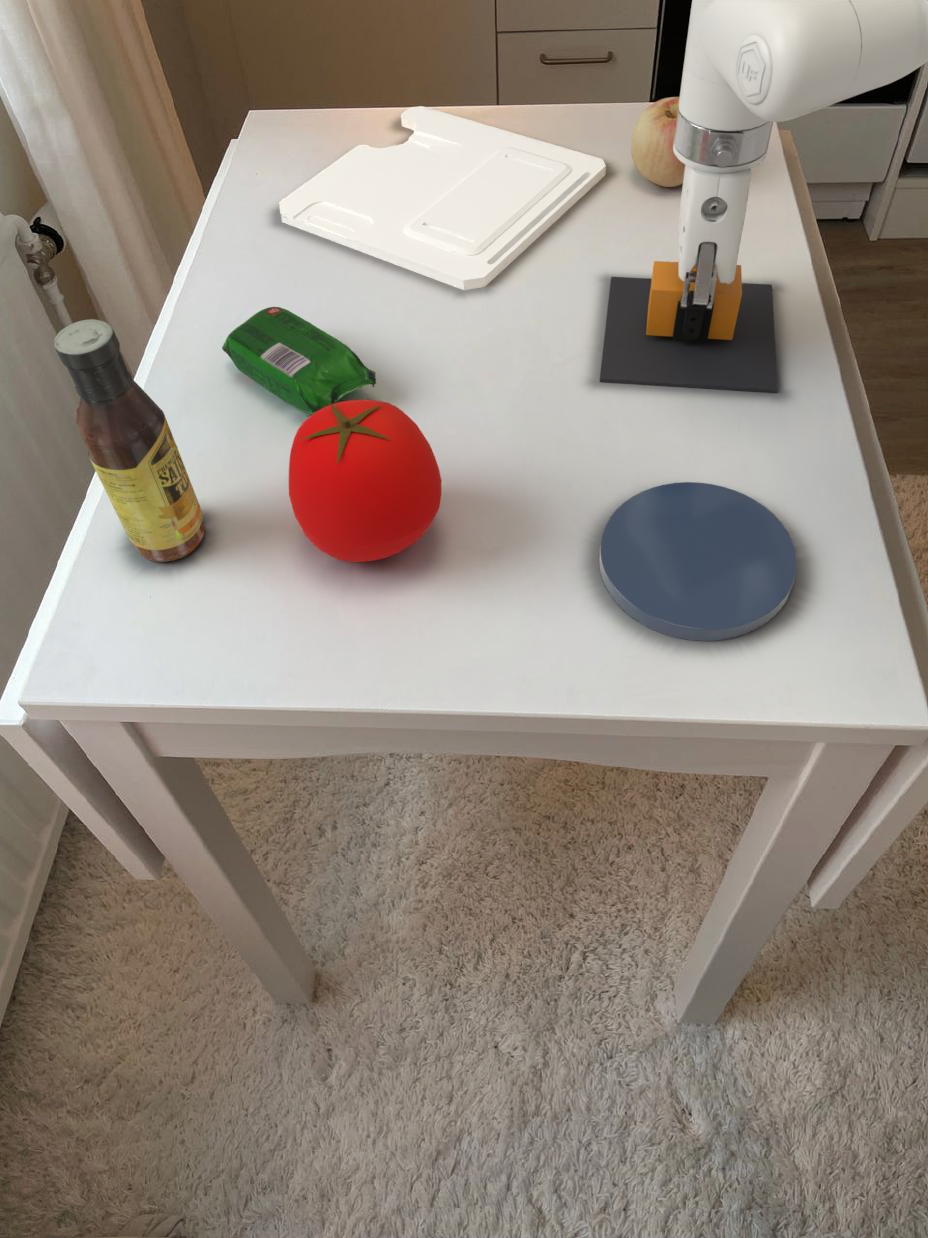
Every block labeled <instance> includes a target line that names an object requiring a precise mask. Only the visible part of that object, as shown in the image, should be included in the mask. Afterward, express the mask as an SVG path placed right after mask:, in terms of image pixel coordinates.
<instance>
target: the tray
mask: <svg viewBox="0 0 928 1238" xmlns="http://www.w3.org/2000/svg"><path fill="white" fill-rule="evenodd" d="M400 121H401V127H403V128H405V129H408V130H412V131H413V133H412V134H411V135H410V136H408V140H406V141H404V142H403V143H399V144H391V145H390V146H386V147H374V146H372V145H368V144H358V145H356V146H354V147H353V148H352V149H350V150H349V151H348V152H346V153H345V154H343V155H342V156H341V157H339V158H338V159H336V160H335V161H333V162H332V163H331V164H329V165H328V166H327V167H326V168H324V169H323V170H321V171H319V173H317V174H316V175H314V176H313V177H312V178H310V179H309V180H307V181H306V182H305V183H303V184H301V185H300V186H299V187H298V188H296V189H295V190H294V191H292V192H291V193H289V194H288V195H286V196H285V197H284V198H282V199H281V200H280V201H279V202H278V208H279V214H280V217H281V218H280V219H281V223H284V224H286V225H288V226H291V227H294V228H297V229H298V230H302V231H305V232H307V233H310V234H312V235H315V236H318V237H320V238H324V239H326V240H328V241H331V242H333V243H336V244H339V245H342V246H345V247H347V248H349V249H352V250H356V251H357V252H361V253H363V254H366V255H369V256H371V257H373V258H376V259H379V260H382V261H385V262H387V263H390V264H393V265H395V266H398V267H401V268H403V269H405V270H409V271H412V272H414V273H417V274H419V275H421V276H425V277H427V278H430V279H433V280H435V281H437V282H441V283H442V284H443V283H444V284H446V285H449V286H451V287H453V288H456V289H460V290H462V291H468V290H474V289H483V288H486V287H487V286H488V285H489V284H490V283H491V282H493V280H494V279H495V278H496V277H497V276H498V275H499V274H501V273H502V272H503V271H504V270H505V269H506V268H507V267H508V266H509V265H511V263H513V261H514V260H516V259H517V258H518V257H519V256H520V255H521V254H522V253H523V252H524V251H526V250H527V249H528V248H529V247H530V246H531V245H532V244H533V243H534V242H535V241H536V240H538V238H540V237H541V235H543V234H544V233H545V232H546V231H547V230H548V229H549V228H550V227H552V226H553V225H554V224H555V223H556V222H557V221H558V220H559V219H560V218H561V217H562V216H564V214H566V212H567V211H569V210H570V209H571V208H572V207H573V206H574V205H575V204H576V203H577V202H578V201H580V200H581V198H583V197H584V196H585V195H586V194H587V193H588V192H589V191H590V190H592V188H594V187H595V186H596V185H597V184H598V183H599V182H600V181H601V180H602V179H603V178H604V177H606V172H607V171H606V170H607V164H606V163H605V161H604V160H603V158H601V157H599V156H595V155H591V154H588V153H584V152H581V151H577V150H575V149H571V148H567V147H564V146H560V145H557V144H554V143H550V142H547V141H542V140H540V139H536V138H532V137H531V136H527V135H522V134H519V133H517V132H512V131H510V130H506V129H502V128H498V127H495V126H492V125H488V124H486V123H483V122H479V121H476V120H471V119H470V118H469V119H468V118H464V117H462V116H458V115H454V114H451V113H448V112H445V111H441V110H437V109H434V108H431V107H428V106H424V105H419V106H411V107H408V108H407V109H406V110H404V111H402V113H400Z"/></svg>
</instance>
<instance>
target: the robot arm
mask: <svg viewBox="0 0 928 1238" xmlns="http://www.w3.org/2000/svg"><path fill="white" fill-rule="evenodd" d="M690 7H691V8H690V15H689V22H688V28H687V37H686V43H685V52H684V60H683V68H682V76H681V83H680V91H679V97H680V98H679V106H678V114H677V121H676V129H675V137H674V143H673V151H674V154H675V156H676V157H677V158H678V159H679V160H680V161H681V162H682V163H684V164H685V171H684V179H683V184H682V188H681V194H680V195H681V196H680V206H679V217H678V218H679V219H678V242H677V243H678V244H677V245H678V246H677V257H678V259H677V262H678V275H679V278H680V279H681V280H682V281H683V282H684V284H683V291H682V298H681V301H678V305H677V311H676V317H675V324H674V330H673V340H674V341H682V342H699V343H704V342H706V341H707V339H708V334H709V329H710V324H711V319H712V313H713V308H714V303H713V298H714V292H715V286H716V281H717V274H718V277H719V280H720V283H726V284H730V283H732V282H733V280H734V278H735V272H736V265H738V259H739V253H740V247H741V241H742V236H743V231H744V224H745V219H746V212H747V207H748V201H749V194H750V187H751V179H752V170H753V169H754V168H755V167H757V166H758V165H760V164H761V163H762V162H763V161H764V160H765V159H766V157H767V154H768V150H769V144H770V140H771V135H772V130H773V125H774V123H781V122H787V121H791V120H795V119H797V118H801V117H803V116H806V115H809V114H812V113H814V112H817V111H819V110H822V109H825V108H828V107H830V106H833V105H834V104H837V103H840V102H842V101H845V100H849V99H851V98H854V97H856V96H859V95H861V94H864V93H866V92H870V91H873V90H875V89H878V88H882V87H884V86H888V85H890V84H892V83H894V82H896V81H898V80H900V79H903V78H904V77H906V76H908V75H909V74H911V73H913V72H914V71H916V70H917V69H919V68H920V67H922V66H923V65H925V64H927V63H928V0H692V1H691V6H690ZM692 268H697V271H691V270H692ZM712 269H713V271H712ZM690 282H695V288H694V291H690V293H689V289H690Z"/></svg>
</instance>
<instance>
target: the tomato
mask: <svg viewBox="0 0 928 1238" xmlns="http://www.w3.org/2000/svg"><path fill="white" fill-rule="evenodd" d="M329 404H330V405H329V406H326V407H324V408H322V409H321V410H319V411H317V412H316V413H314V414H313V415H312V414H310V416H309V417H308V418H306V419H305V420H304V421H303V422H302V423H301V425H300V426H299V428H298V429H297V430H296V433H295V435H294V438H293V441H292V445H291V448H290V454H289V459H288V460H289V461H288V497H289V500H290V504H291V508H292V511H293V515H294V518H295V519H296V521H297V523H298V525H299V527H300V528H301V531H302V532H303V534H304V536H305V537H306V538H307V539H308V540H309V541H310V542H311V543H312V544H313V546H315V547H316V548H317V549H318V550H319V551H321V552H322V553H325V554H326V555H328V556H330V557H332V558H334V559H335V560H340V561H342V562H349V563H364V562H365V563H366V562H372V561H379V560H383V559H386V558H389V557H392V556H394V555H396V554H398V553H401V552H402V551H404V550H405V549H407V548H408V547H410V546H412V545H414V544H415V543H416V542H417V541H418V540H419V539H420V538H421V537H422V536H423V535H425V533H426V532H427V531H428V530H429V528H431V525H432V524H433V522H434V520H435V518H436V516H437V514H438V512H439V509H440V507H441V501H442V476H441V470H440V467H439V464H438V462H437V459H436V456H435V453H434V451H433V448H432V447H431V444H430V443H429V441H428V439H427V438H426V437H425V435H424V433H423V432H422V429H420V428H419V426H418V424H417V423H416V422H415V421H414V420H413V419H412V417H410V416H408V414H406V413H405V412H404V411H403V410H402V409H400V408H399V407H398V406H396V405H394V404H392V403H390V402H387V401H382V400H375V399H353V400H343V401H338V402H337V403H335V404H331V403H330V402H329Z"/></svg>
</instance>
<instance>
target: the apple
mask: <svg viewBox="0 0 928 1238" xmlns="http://www.w3.org/2000/svg"><path fill="white" fill-rule="evenodd" d="M679 98H680V96H670V97H664V98H661V99H659V100H657V101H655V102H653V103H652V104H651V105H649V106H648V107H647V108H646V109H644V111H643V112H642V113H641V114H640V115H639V117H638V119H637V121H636V123H635V125H634V129H633V133H632V136H631V143H630V154H631V158H632V162H633V164H634V166H635V168H636V170H637V171H638V172H639V173H640V175H641V176H643V178H645V179H646V180H648V181H649V182H650V183H651V182H652V183H653V184H655V185H658V186H660V187H665V188H675V187H678V186H681V185H683V179H684V171H685V164H684V163H682V162H681V161H680V160H679V159H678V158H677V157H676V156H675V154H674V151H673V143H674V137H675V129H676V121H677V114H678V106H679Z"/></svg>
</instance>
